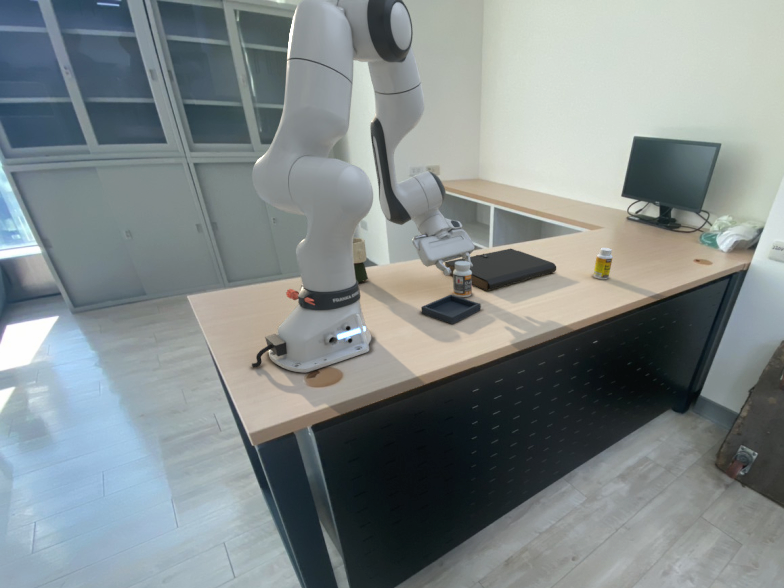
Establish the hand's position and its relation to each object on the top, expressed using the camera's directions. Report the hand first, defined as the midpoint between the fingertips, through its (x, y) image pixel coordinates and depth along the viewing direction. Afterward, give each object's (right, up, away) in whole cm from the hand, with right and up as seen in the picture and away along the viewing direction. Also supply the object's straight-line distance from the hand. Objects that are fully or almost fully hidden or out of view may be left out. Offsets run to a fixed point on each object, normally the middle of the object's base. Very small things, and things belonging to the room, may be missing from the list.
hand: (459, 270), depth 123 cm
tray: (-2, -14, -8) cm, 16 cm away
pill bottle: (0, -7, +3) cm, 8 cm away
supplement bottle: (+49, +4, +25) cm, 55 cm away
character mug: (-34, -1, +9) cm, 35 cm away
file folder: (+13, +5, +23) cm, 27 cm away
